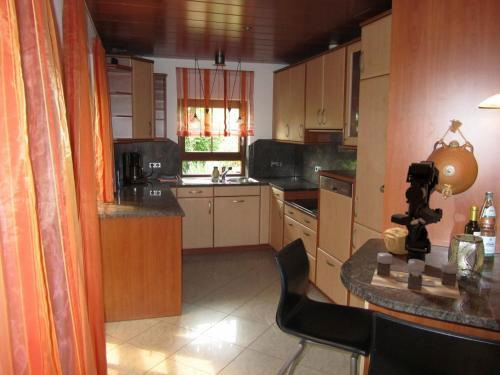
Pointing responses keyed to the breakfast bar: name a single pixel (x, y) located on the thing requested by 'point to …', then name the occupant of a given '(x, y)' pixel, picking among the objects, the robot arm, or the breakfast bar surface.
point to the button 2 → (449, 267)
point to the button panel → (417, 282)
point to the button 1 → (384, 258)
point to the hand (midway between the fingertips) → (413, 241)
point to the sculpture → (395, 240)
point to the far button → (416, 267)
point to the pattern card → (424, 281)
